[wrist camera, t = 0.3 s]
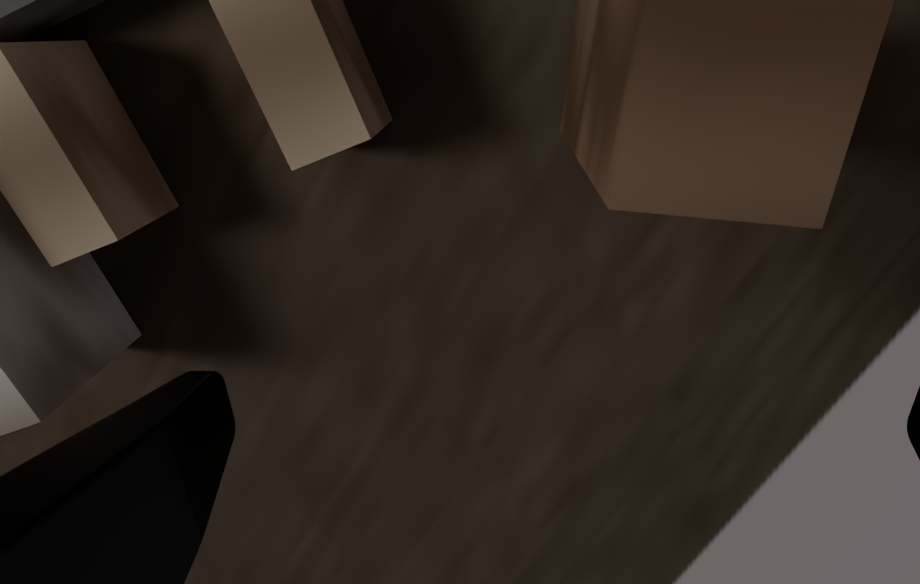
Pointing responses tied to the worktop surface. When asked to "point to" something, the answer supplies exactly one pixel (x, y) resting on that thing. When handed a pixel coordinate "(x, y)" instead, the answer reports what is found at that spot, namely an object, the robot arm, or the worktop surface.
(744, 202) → the plain brown block
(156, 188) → the stepped pillar cluster
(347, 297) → the worktop surface
